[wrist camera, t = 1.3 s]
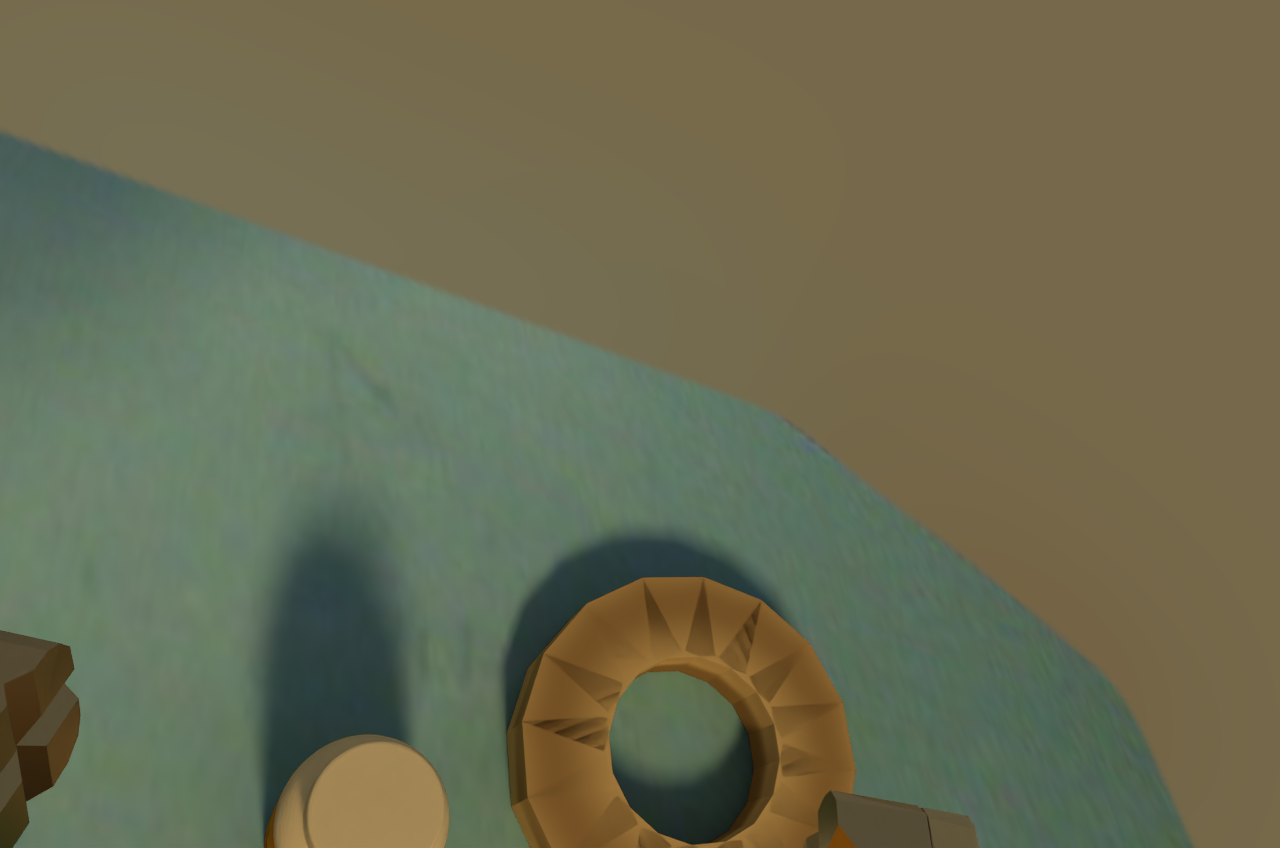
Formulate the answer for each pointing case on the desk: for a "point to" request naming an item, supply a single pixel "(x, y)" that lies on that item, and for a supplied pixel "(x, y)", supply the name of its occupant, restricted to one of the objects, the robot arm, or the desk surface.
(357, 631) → the desk surface
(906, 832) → the robot arm
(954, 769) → the desk surface
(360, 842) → the supplement bottle
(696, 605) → the plain brown donut
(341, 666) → the desk surface
